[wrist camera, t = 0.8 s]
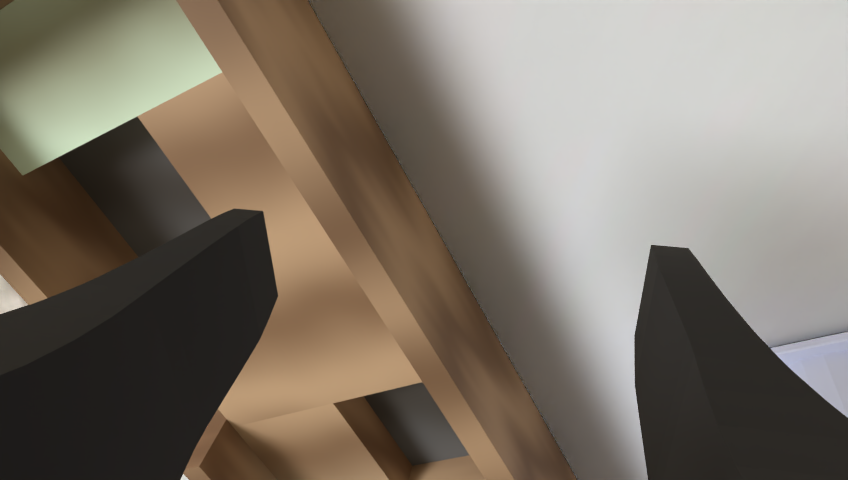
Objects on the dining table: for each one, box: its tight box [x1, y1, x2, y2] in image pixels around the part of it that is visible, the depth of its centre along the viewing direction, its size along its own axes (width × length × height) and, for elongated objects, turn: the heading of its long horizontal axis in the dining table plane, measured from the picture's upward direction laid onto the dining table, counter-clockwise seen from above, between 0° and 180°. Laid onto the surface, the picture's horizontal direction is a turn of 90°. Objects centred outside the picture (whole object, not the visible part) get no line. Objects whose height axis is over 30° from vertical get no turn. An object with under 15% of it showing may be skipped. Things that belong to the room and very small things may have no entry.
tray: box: [0, 0, 577, 480], centre depth 26 cm, size 33×13×4 cm, turn 27°
